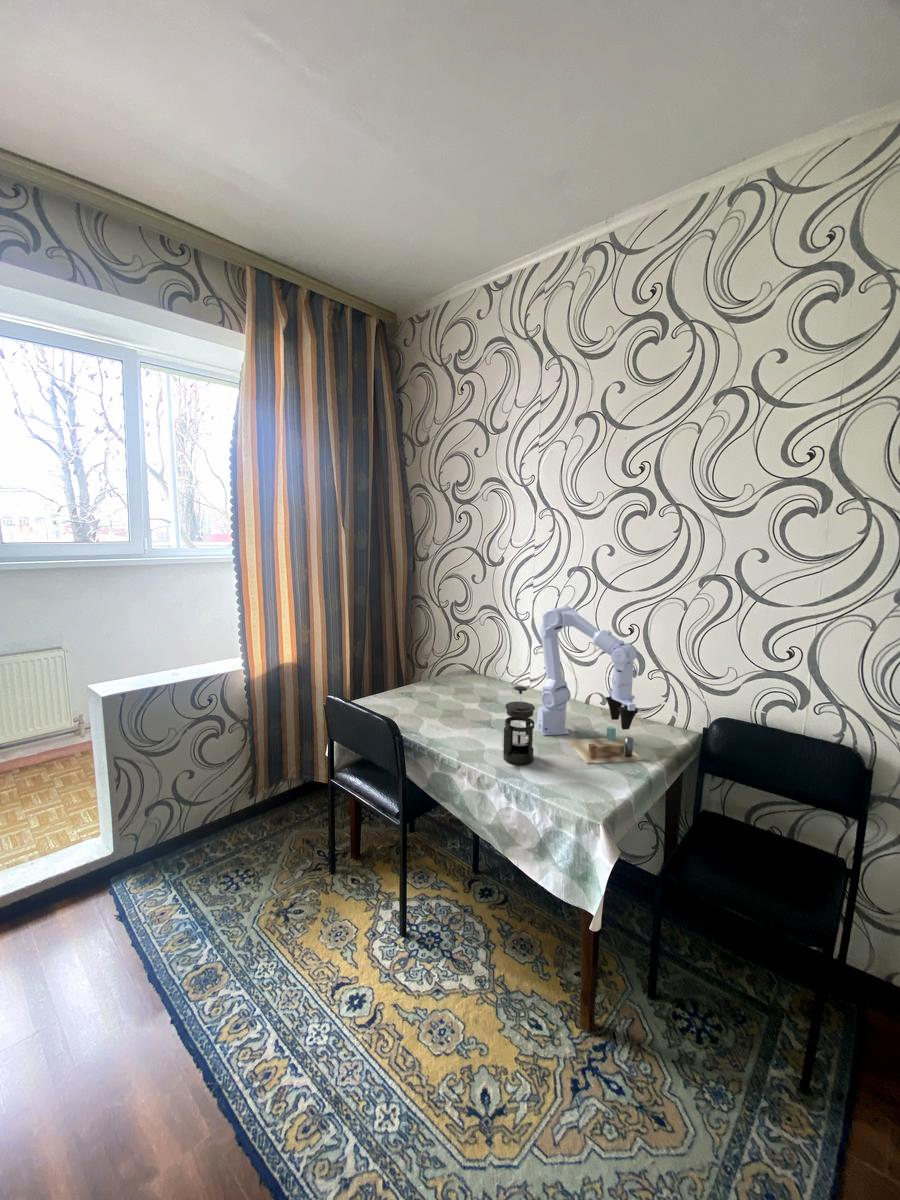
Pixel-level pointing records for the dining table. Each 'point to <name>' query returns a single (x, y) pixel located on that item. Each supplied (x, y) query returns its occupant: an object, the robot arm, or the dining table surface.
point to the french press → (518, 740)
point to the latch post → (611, 733)
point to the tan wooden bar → (605, 750)
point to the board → (582, 750)
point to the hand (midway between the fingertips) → (620, 724)
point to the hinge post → (628, 746)
